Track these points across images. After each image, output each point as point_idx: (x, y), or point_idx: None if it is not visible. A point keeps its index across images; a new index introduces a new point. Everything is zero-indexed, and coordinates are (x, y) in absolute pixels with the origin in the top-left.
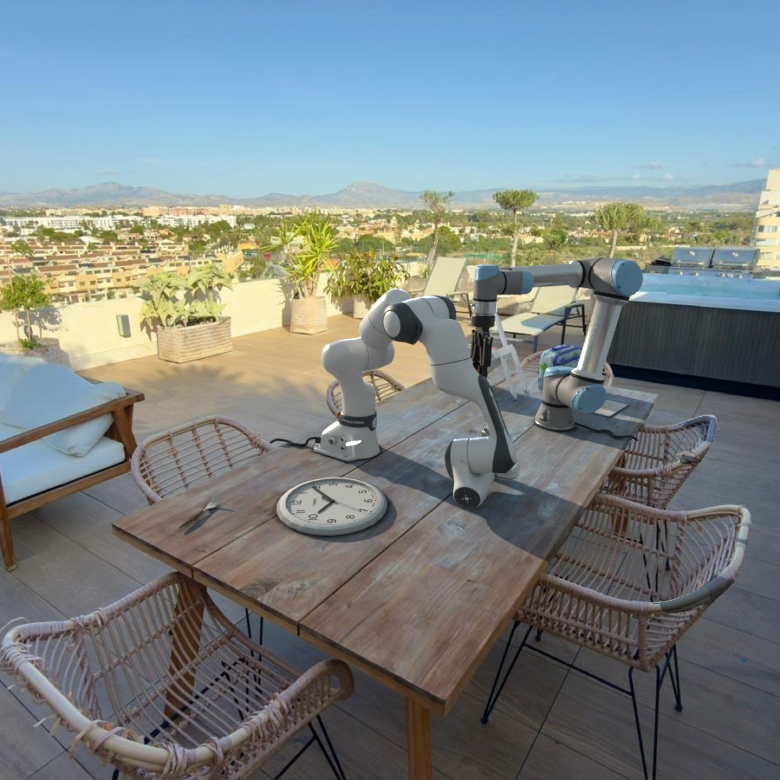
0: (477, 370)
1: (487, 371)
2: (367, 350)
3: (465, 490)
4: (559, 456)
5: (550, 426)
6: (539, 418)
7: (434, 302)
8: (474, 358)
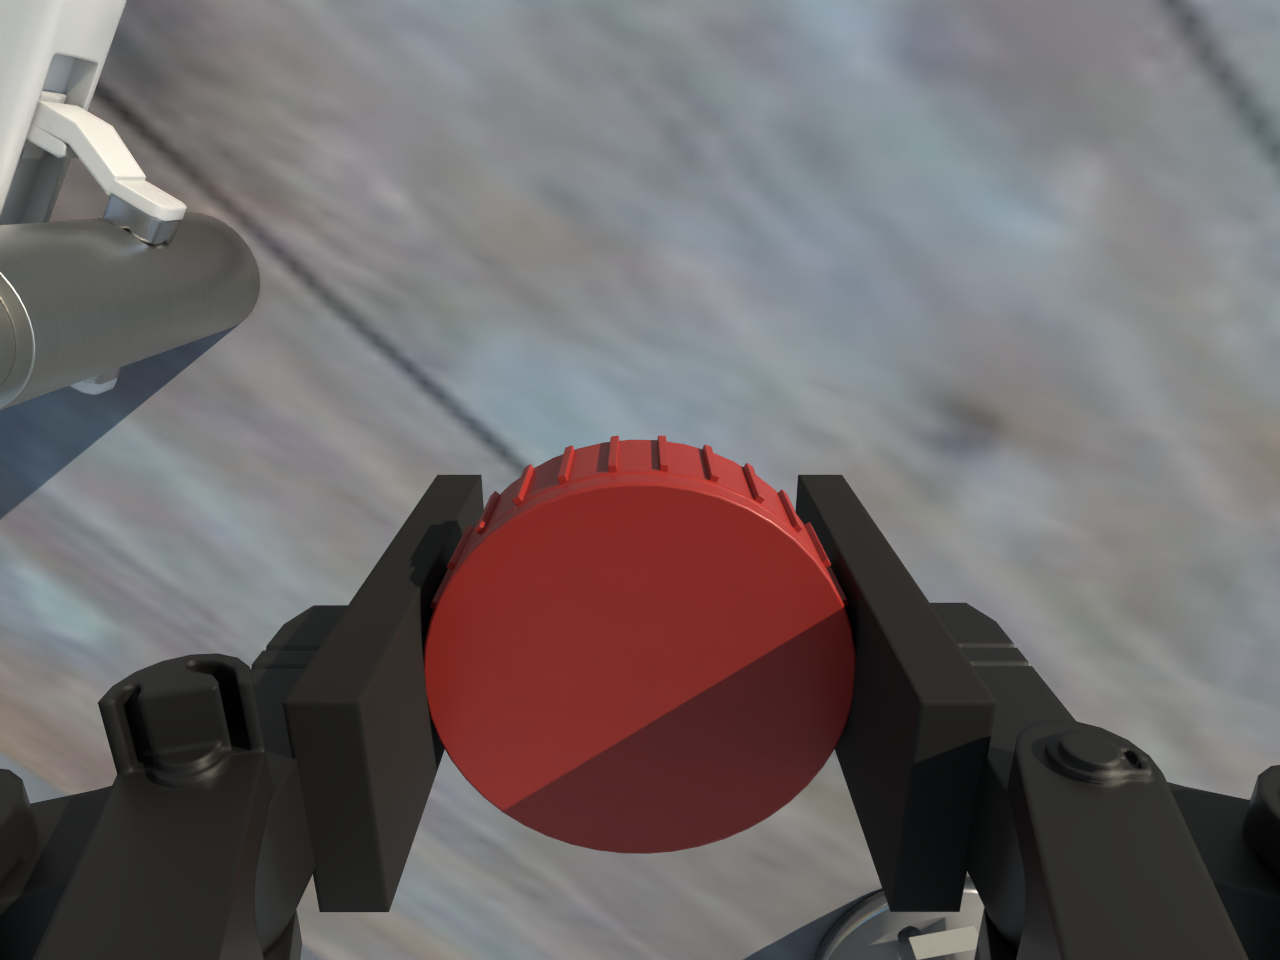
0: (683, 657)
1: (562, 839)
2: None
3: None
4: (456, 801)
5: (853, 932)
6: (950, 925)
7: None
8: (1018, 845)
